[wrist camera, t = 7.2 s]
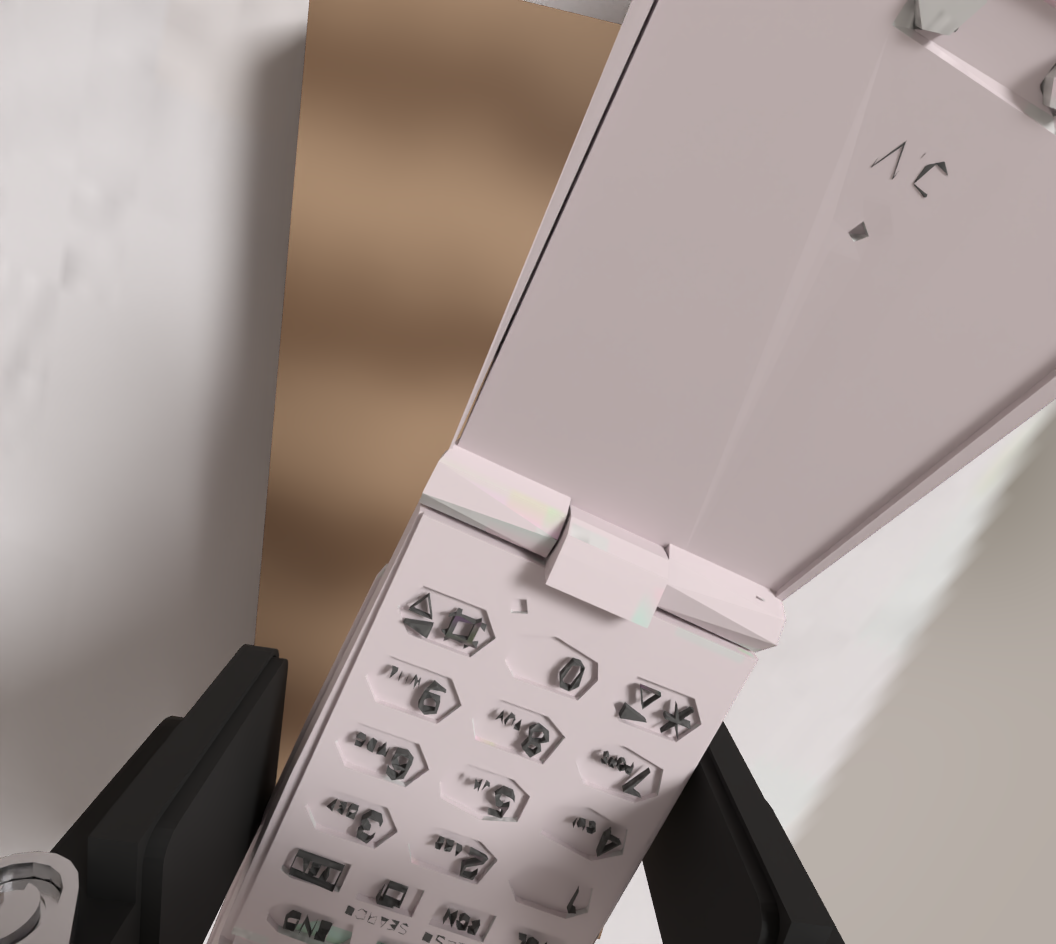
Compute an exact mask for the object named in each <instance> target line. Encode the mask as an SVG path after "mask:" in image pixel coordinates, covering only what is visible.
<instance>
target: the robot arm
mask: <svg viewBox="0 0 1056 944" xmlns="http://www.w3.org/2000/svg"><path fill="white" fill-rule="evenodd" d="M287 673H288V660H287V659H283V658H279V651H278V649H275V648H268V647H261V646H255V645H248V644H245V645H243V646H242V647H241V648H240V649H239V650H238V652H237V653H236V654H235V655H234V657H233V658H232V659H231V660H230V662H229V663H228V664H227V665H226V666H225V668H224V669H223V670H222V671H221V673H220V674H219V675H218V676H217V678H216V679H215V680H214V681H213V683H212V684H211V685H210V686H209V688H208V689H207V690H206V691H205V692H204V694H203V695H202V696H201V697H200V699H199V700H198V701H197V702H196V704H195V705H194V706H193V707H192V709H191V710H190V711H189V712H188V714H187V715H186V716H185V717H184V718H183V717H176V716H170V717H168V718H166V719H164V720H163V721H162V722H161V723H160V724H159V725H158V726H157V728H156V729H155V730H154V731H153V732H152V733H151V735H150V736H149V737H148V738H147V739H146V740H145V742H144V743H143V744H142V745H141V746H140V747H139V749H138V750H137V751H136V752H135V753H134V754H133V756H132V757H131V758H130V759H129V760H128V761H127V763H126V764H125V765H124V766H123V767H122V768H121V770H120V771H119V772H118V773H117V774H116V775H115V777H114V778H113V779H112V780H111V781H110V782H109V784H108V785H107V786H106V787H105V788H104V789H103V791H102V792H101V793H100V794H99V795H98V796H97V798H96V799H95V800H94V801H93V802H92V803H91V805H90V806H89V807H88V808H87V809H86V810H85V812H84V813H83V814H82V815H81V816H80V817H79V819H78V820H77V821H76V822H75V823H74V824H73V826H72V827H71V828H70V829H69V830H68V831H67V833H66V834H65V835H64V836H63V837H62V838H61V840H60V841H59V842H58V843H57V844H56V845H55V847H54V848H53V849H52V850H51V851H50V852H41V851H34V852H25V853H17V854H12V855H9V856H6V857H3V858H0V944H203V942H204V940H205V938H206V936H207V934H208V932H209V930H210V928H211V925H212V923H213V921H214V919H215V917H216V915H217V913H218V911H219V909H220V907H221V905H222V903H223V901H224V899H225V897H226V895H227V893H228V891H229V888H230V886H231V884H232V882H233V880H234V878H235V876H236V874H237V872H238V870H239V868H240V866H241V864H242V862H243V860H244V858H245V856H246V854H247V852H248V849H249V847H250V845H251V843H252V841H253V839H254V837H255V835H256V833H257V831H258V829H259V827H260V825H261V821H262V817H263V814H264V811H265V808H266V806H267V804H268V801H269V799H270V797H271V795H272V793H273V791H274V788H275V785H276V778H277V768H278V759H279V749H280V739H281V730H282V720H283V711H284V701H285V692H286V682H287ZM642 861H643V865H644V869H645V873H646V877H647V881H648V885H649V889H650V893H651V897H652V901H653V905H654V909H655V913H656V918H657V922H658V926H659V930H660V934H661V938H662V942H663V944H845V943H844V941H843V939H842V937H841V935H840V934H839V932H838V930H837V928H836V926H835V924H834V922H833V920H832V919H831V917H830V915H829V913H828V911H827V909H826V908H825V906H824V904H823V902H822V900H821V898H820V897H819V895H818V893H817V891H816V889H815V887H814V885H813V883H812V882H811V880H810V878H809V876H808V874H807V872H806V871H805V869H804V867H803V865H802V863H801V861H800V860H799V857H798V856H797V854H796V852H795V850H794V848H793V846H792V844H791V843H790V841H789V839H788V837H787V835H786V833H785V831H784V830H783V828H782V826H781V824H780V822H779V820H778V818H777V817H776V815H775V813H774V811H773V809H772V808H771V806H770V805H769V803H768V802H767V801H766V800H765V798H764V797H763V795H762V793H761V791H760V789H759V787H758V785H757V784H756V782H755V780H754V778H753V776H752V774H751V772H750V770H749V769H748V767H747V765H746V763H745V761H744V759H743V757H742V755H741V754H740V752H739V750H738V748H737V746H736V744H735V742H734V740H733V739H732V737H731V735H730V733H729V731H728V729H727V727H726V726H725V724H724V722H722V723H721V725H720V727H719V729H718V730H717V732H716V734H715V735H714V737H713V739H712V741H711V742H710V744H709V746H708V747H707V749H706V751H705V753H704V754H703V756H702V758H701V760H700V761H699V763H698V765H697V766H696V768H695V770H694V772H693V773H692V775H691V777H690V779H689V780H688V782H687V784H686V785H685V787H684V789H683V791H682V792H681V794H680V796H679V797H678V799H677V801H676V803H675V804H674V806H673V808H672V810H671V811H670V813H669V815H668V816H667V818H666V820H665V822H664V823H663V825H662V827H661V829H660V830H659V832H658V834H657V835H656V837H655V839H654V841H653V842H652V844H651V846H650V847H649V849H648V851H647V853H646V854H645V856H644V858H643V860H642Z"/></svg>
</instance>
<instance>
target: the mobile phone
mask: <svg viewBox="0 0 1056 944" xmlns="http://www.w3.org/2000/svg"><path fill="white" fill-rule="evenodd" d="M492 360H493V362H492ZM491 362H492V364H491ZM490 364H491V366H490ZM489 366H490V369H489V371H488V373H487V370H488V368H489ZM486 373H487V376H486V378H485V380H484V383H483V385H482V387H481V390H480V392H479V394H478V397H477V399H476V401H475V404H474V406H473V408H472V411H471V413H470V415H469V418H468V420H467V422H466V425H465V427H464V429H463V432H462V434H461V436H460V438H459V439H458V440H457V441H456V439H457V437H458V435H459V433H460V430H461V428H462V426H463V424H464V421H465V419H466V417H467V415H468V413H469V410H470V408H471V406H472V404H473V402H474V399H475V397H476V395H477V393H478V390H479V388H480V386H481V384H482V382H483V379H484V377H485V375H486ZM1055 399H1056V0H632V1H631V4H630V6H629V9H628V11H627V14H626V16H625V18H624V21H623V23H622V26H621V28H620V31H619V33H618V36H617V38H616V40H615V43H614V45H613V48H612V50H611V53H610V55H609V58H608V60H607V63H606V65H605V67H604V70H603V72H602V75H601V77H600V80H599V82H598V85H597V87H596V90H595V92H594V94H593V97H592V99H591V102H590V104H589V107H588V109H587V112H586V114H585V117H584V119H583V121H582V124H581V126H580V129H579V131H578V134H577V136H576V139H575V141H574V144H573V146H572V148H571V151H570V153H569V156H568V158H567V161H566V163H565V166H564V168H563V170H562V173H561V175H560V178H559V180H558V183H557V185H556V188H555V190H554V193H553V195H552V197H551V200H550V202H549V205H548V207H547V210H546V212H545V215H544V217H543V220H542V222H541V224H540V227H539V229H538V232H537V234H536V237H535V239H534V242H533V244H532V247H531V249H530V251H529V254H528V256H527V259H526V261H525V264H524V266H523V269H522V271H521V274H520V276H519V278H518V281H517V283H516V286H515V288H514V291H513V293H512V296H511V298H510V300H509V303H508V305H507V308H506V310H505V313H504V315H503V318H502V320H501V323H500V325H499V327H498V330H497V332H496V335H495V337H494V340H493V342H492V345H491V347H490V350H489V352H488V354H487V357H486V359H485V362H484V364H483V367H482V369H481V372H480V374H479V377H478V379H477V381H476V384H475V386H474V389H473V391H472V394H471V396H470V399H469V401H468V404H467V406H466V408H465V411H464V413H463V416H462V418H461V421H460V423H459V426H458V428H457V431H456V433H455V435H454V438H453V440H452V443H451V445H450V448H449V450H446V451H445V452H444V454H443V455H442V456H441V458H440V460H439V461H438V463H437V465H436V467H435V469H434V471H433V473H432V475H431V477H430V479H429V481H428V483H427V485H426V487H425V489H424V491H423V493H422V496H421V498H420V500H419V502H418V504H417V506H416V508H415V510H414V512H413V514H412V516H411V518H410V520H409V522H408V525H407V527H406V529H405V531H404V533H403V535H402V537H401V539H400V541H399V543H398V545H397V547H396V549H395V551H394V553H393V555H392V557H391V559H390V561H389V563H388V564H386V565H385V566H384V567H383V568H382V570H381V571H380V572H379V573H378V574H377V576H376V578H375V580H374V582H373V584H372V586H371V588H370V590H369V592H368V594H367V596H366V598H365V600H364V602H363V604H362V606H361V608H360V610H359V612H358V614H357V616H356V618H355V621H354V623H353V625H352V627H351V629H350V631H349V633H348V635H347V637H346V639H345V641H344V643H343V645H342V647H341V649H340V651H339V653H338V655H337V657H336V659H335V661H334V663H333V666H332V668H331V670H330V672H329V674H328V676H327V678H326V680H325V682H324V684H323V686H322V688H321V690H320V692H319V694H318V696H317V698H316V700H315V702H314V704H313V706H312V709H311V711H310V713H309V715H308V717H307V719H306V722H305V724H304V726H303V728H302V730H301V732H300V735H299V737H298V739H297V741H296V743H295V745H294V747H293V750H292V752H291V754H290V756H289V758H288V760H287V763H286V765H285V767H284V769H283V771H282V773H281V775H280V778H279V780H278V782H277V784H276V786H275V788H274V791H273V793H272V795H271V797H270V799H269V801H268V804H267V806H266V808H265V811H264V814H263V817H262V821H261V825H260V827H259V829H258V831H257V833H256V835H255V837H254V839H253V841H252V843H251V845H250V847H249V849H248V852H247V854H246V856H245V858H244V860H243V862H242V864H241V866H240V868H239V870H238V872H237V874H236V876H235V878H234V880H233V882H232V884H231V886H230V888H229V891H228V893H227V895H226V897H225V900H224V902H223V905H222V907H221V910H220V912H219V915H218V917H217V919H216V922H215V924H214V927H213V929H212V932H211V934H210V937H209V939H208V942H207V944H594V943H595V941H596V939H597V938H598V936H599V933H600V932H601V930H602V928H603V927H604V925H605V923H606V922H607V920H608V918H609V916H610V915H611V913H612V911H613V910H614V908H615V906H616V904H617V903H618V901H619V899H620V897H621V896H622V894H623V892H624V891H625V889H626V887H627V885H628V884H629V882H630V880H631V879H632V877H633V875H634V873H635V872H636V870H637V868H638V866H639V865H640V863H641V861H642V860H643V858H644V856H645V854H646V853H647V851H648V849H649V847H650V846H651V844H652V842H653V841H654V839H655V837H656V835H657V834H658V832H659V830H660V829H661V827H662V825H663V823H664V822H665V820H666V818H667V816H668V815H669V813H670V811H671V810H672V808H673V806H674V804H675V803H676V801H677V799H678V797H679V796H680V794H681V792H682V791H683V789H684V787H685V785H686V784H687V782H688V780H689V779H690V777H691V775H692V773H693V772H694V770H695V768H696V766H697V765H698V763H699V761H700V760H701V758H702V756H703V754H704V753H705V751H706V749H707V747H708V746H709V744H710V742H711V741H712V739H713V737H714V735H715V734H716V732H717V730H718V729H719V727H720V725H721V723H722V722H723V720H724V718H725V716H726V715H727V713H728V711H729V710H730V708H731V706H732V704H733V703H734V701H735V699H736V697H737V696H738V694H739V692H740V691H741V689H742V687H743V685H744V684H745V682H746V680H747V679H748V677H749V675H750V673H751V672H752V670H753V668H754V666H755V665H756V663H757V661H758V658H757V656H756V655H755V653H754V652H758V651H761V650H764V649H768V648H771V647H774V646H777V645H778V642H779V639H780V636H781V633H782V631H783V628H784V625H785V622H786V617H785V612H784V607H783V602H782V601H783V600H785V599H786V598H787V597H789V596H790V595H791V594H793V593H794V592H795V591H797V590H798V589H799V588H801V587H802V586H804V585H805V584H806V583H808V582H809V581H810V580H812V579H813V578H814V577H816V576H817V575H818V574H820V573H821V572H822V571H824V570H825V569H826V568H828V567H829V566H831V565H832V564H833V563H835V562H836V561H837V560H839V559H840V558H841V557H843V556H844V555H845V554H847V553H848V552H849V551H851V550H852V549H854V548H855V547H856V546H858V545H859V544H860V543H862V542H863V541H864V540H866V539H867V538H868V537H870V536H871V535H872V534H874V533H875V532H876V531H878V530H879V529H881V528H882V527H883V526H885V525H886V524H887V523H889V522H890V521H891V520H893V519H894V518H895V517H897V516H898V515H899V514H901V513H902V512H903V511H905V510H906V509H908V508H909V507H910V506H912V505H913V504H914V503H916V502H917V501H918V500H920V499H921V498H922V497H924V496H925V495H926V494H928V493H929V492H930V491H932V490H933V489H935V488H936V487H937V486H939V485H940V484H941V483H943V482H944V481H945V480H947V479H948V478H949V477H951V476H952V475H953V474H955V473H956V472H958V471H959V470H960V469H962V468H963V467H964V466H966V465H967V464H968V463H970V462H971V461H972V460H974V459H975V458H976V457H978V456H979V455H980V454H982V453H983V452H985V451H986V450H987V449H989V448H990V447H991V446H993V445H994V444H995V443H997V442H998V441H999V440H1001V439H1002V438H1003V437H1005V436H1006V435H1007V434H1009V433H1010V432H1012V431H1013V430H1014V429H1016V428H1017V427H1018V426H1020V425H1021V424H1022V423H1024V422H1025V421H1026V420H1028V419H1029V418H1030V417H1032V416H1033V415H1035V414H1036V413H1037V412H1039V411H1040V410H1041V409H1043V408H1044V407H1045V406H1047V405H1048V404H1049V403H1051V402H1052V401H1053V400H1055ZM455 441H456V442H455Z"/></svg>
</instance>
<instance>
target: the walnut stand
mask: <svg viewBox="0 0 1056 944" xmlns="http://www.w3.org/2000/svg"><path fill="white" fill-rule="evenodd" d="M621 26H622V25H621V24H616V23H612V22H608V21H604V20H600V19H596V18H592V17H588V16H584V15H579V14H575V13H571V12H567V11H563V10H559V9H555V8H551V7H547V6H543V5H538V4H534V3H530V2H526V1H522V0H309V11H308V23H307V35H306V46H305V58H304V70H303V81H302V93H301V105H300V117H299V128H298V140H297V152H296V163H295V175H294V187H293V198H292V210H291V222H290V233H289V245H288V257H287V269H286V280H285V292H284V304H283V315H282V327H281V339H280V350H279V362H278V374H277V386H276V397H275V409H274V421H273V432H272V444H271V456H270V467H269V479H268V491H267V502H266V514H265V526H264V538H263V549H262V561H261V573H260V584H259V596H258V608H257V619H256V631H255V643H254V645H255V646H261V647H268V648H275V649H278V651H279V658H283V659H287V660H288V673H287V682H286V692H285V701H284V711H283V720H282V730H281V739H280V749H279V759H278V768H277V778H276V784H277V782H278V780H279V778H280V775H281V773H282V771H283V769H284V767H285V765H286V763H287V760H288V758H289V756H290V754H291V752H292V750H293V747H294V745H295V743H296V741H297V739H298V737H299V735H300V732H301V730H302V728H303V726H304V724H305V722H306V719H307V717H308V715H309V713H310V711H311V709H312V706H313V704H314V702H315V700H316V698H317V696H318V694H319V692H320V690H321V688H322V686H323V684H324V682H325V680H326V678H327V676H328V674H329V672H330V670H331V668H332V666H333V663H334V661H335V659H336V657H337V655H338V653H339V651H340V649H341V647H342V645H343V643H344V641H345V639H346V637H347V635H348V633H349V631H350V629H351V627H352V625H353V623H354V621H355V618H356V616H357V614H358V612H359V610H360V608H361V606H362V604H363V602H364V600H365V598H366V596H367V594H368V592H369V590H370V588H371V586H372V584H373V582H374V580H375V578H376V576H377V574H378V573H379V572H380V571H381V570H382V568H383V567H384V566H385V565H386V564H388V563H389V561H390V559H391V557H392V555H393V553H394V551H395V549H396V547H397V545H398V543H399V541H400V539H401V537H402V535H403V533H404V531H405V529H406V527H407V525H408V522H409V520H410V518H411V516H412V514H413V512H414V510H415V508H416V506H417V504H418V502H419V500H420V498H421V496H422V493H423V491H424V489H425V487H426V485H427V483H428V481H429V479H430V477H431V475H432V473H433V471H434V469H435V467H436V465H437V463H438V461H439V460H440V458H441V456H442V455H443V454H444V452H445V451H446V450H449V448H450V445H451V443H452V440H453V438H454V435H455V433H456V431H457V428H458V426H459V423H460V421H461V418H462V416H463V413H464V411H465V408H466V406H467V404H468V401H469V399H470V396H471V394H472V391H473V389H474V386H475V384H476V381H477V379H478V377H479V374H480V372H481V369H482V367H483V364H484V362H485V359H486V357H487V354H488V352H489V350H490V347H491V345H492V342H493V340H494V337H495V335H496V332H497V330H498V327H499V325H500V323H501V320H502V318H503V315H504V313H505V310H506V308H507V305H508V303H509V300H510V298H511V296H512V293H513V291H514V288H515V286H516V283H517V281H518V278H519V276H520V274H521V271H522V269H523V266H524V264H525V261H526V259H527V256H528V254H529V251H530V249H531V247H532V244H533V242H534V239H535V237H536V234H537V232H538V229H539V227H540V224H541V222H542V220H543V217H544V215H545V212H546V210H547V207H548V205H549V202H550V200H551V197H552V195H553V193H554V190H555V188H556V185H557V183H558V180H559V178H560V175H561V173H562V170H563V168H564V166H565V163H566V161H567V158H568V156H569V153H570V151H571V148H572V146H573V144H574V141H575V139H576V136H577V134H578V131H579V129H580V126H581V124H582V121H583V119H584V117H585V114H586V112H587V109H588V107H589V104H590V102H591V99H592V97H593V94H594V92H595V90H596V87H597V85H598V82H599V80H600V77H601V75H602V72H603V70H604V67H605V65H606V63H607V60H608V58H609V55H610V53H611V50H612V48H613V45H614V43H615V40H616V38H617V36H618V33H619V31H620V28H621ZM492 362H493V360H492ZM492 362H491V364H492ZM491 364H490V366H491ZM490 366H489V368H488V370H487V373H488V371H489V369H490ZM487 373H486V375H485V377H484V379H483V382H482V384H481V386H480V388H479V390H478V393H477V395H476V397H475V399H474V402H473V404H472V406H471V408H470V410H469V413H468V415H467V417H466V419H465V421H464V424H463V426H462V428H461V430H460V433H459V435H458V437H457V439H456V441H457V440H458V439H459V438H460V436H461V434H462V432H463V429H464V427H465V425H466V422H467V420H468V418H469V415H470V413H471V411H472V408H473V406H474V404H475V401H476V399H477V397H478V394H479V392H480V390H481V387H482V385H483V383H484V380H485V378H486V376H487ZM456 441H455V442H456ZM275 786H276V785H275ZM602 930H603V928H602ZM602 930H601V932H600V933H599V936H598V938H597V939H600V937H601V933H602Z"/></svg>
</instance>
